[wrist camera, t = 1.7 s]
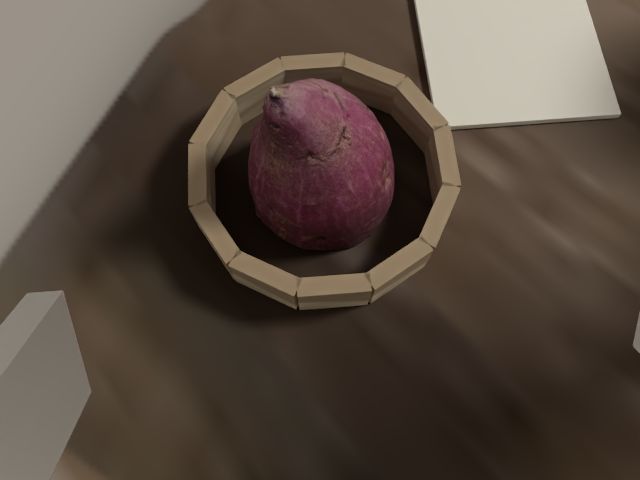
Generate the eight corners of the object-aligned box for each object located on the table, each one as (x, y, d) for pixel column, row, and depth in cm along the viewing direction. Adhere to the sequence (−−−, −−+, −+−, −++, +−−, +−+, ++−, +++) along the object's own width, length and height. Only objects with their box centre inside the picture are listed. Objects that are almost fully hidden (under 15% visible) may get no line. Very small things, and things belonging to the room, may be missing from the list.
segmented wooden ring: (426, 75, 44) (435, 46, 41) (465, 296, 38) (479, 282, 35) (198, 91, 44) (188, 62, 41) (199, 318, 38) (187, 305, 34)
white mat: (574, -24, 48) (576, -28, 47) (618, 117, 43) (621, 114, 42) (411, -13, 47) (412, -18, 47) (436, 130, 43) (437, 127, 42)
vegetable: (283, 276, 42) (201, 248, 27) (247, 151, 44) (153, 64, 30) (418, 230, 40) (406, 175, 26) (374, 103, 43) (340, -13, 28)
